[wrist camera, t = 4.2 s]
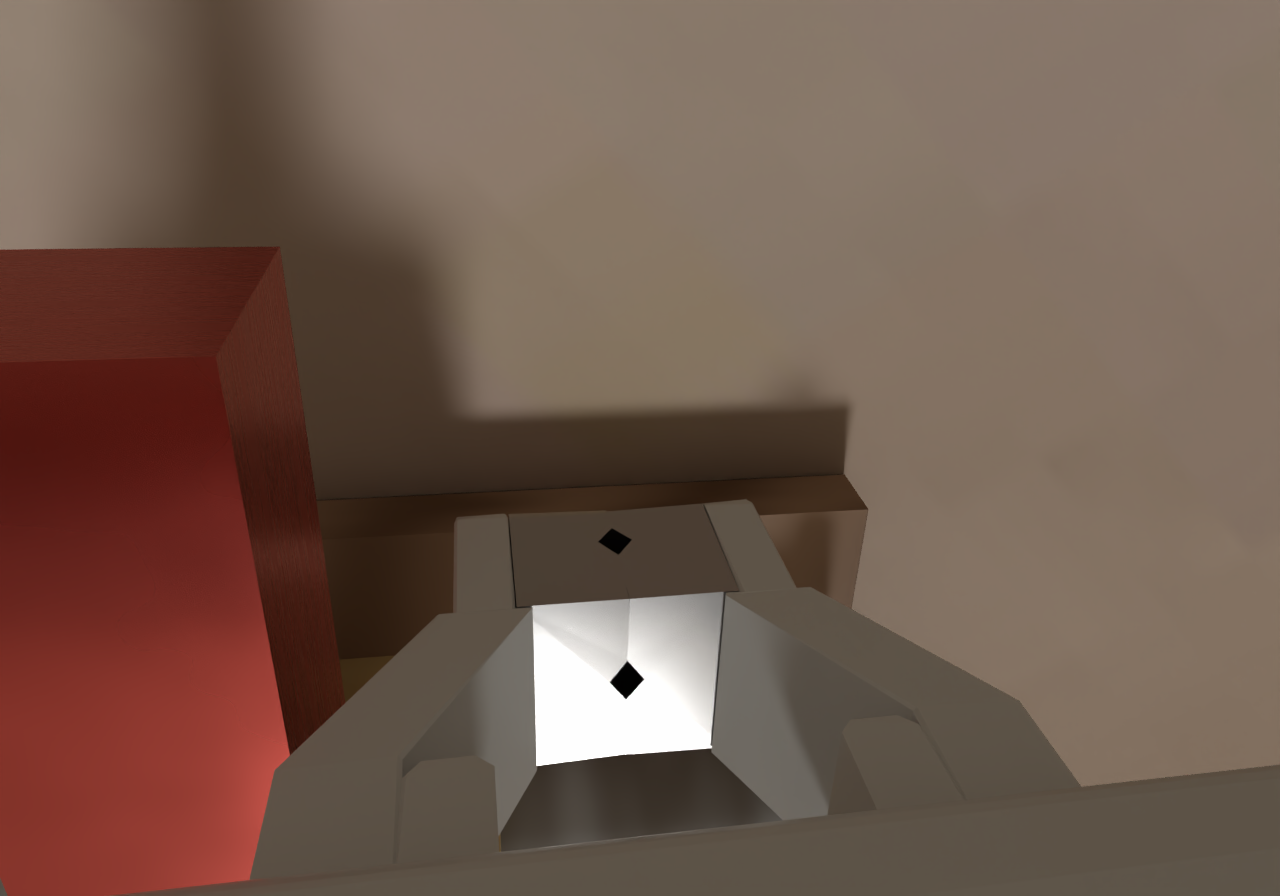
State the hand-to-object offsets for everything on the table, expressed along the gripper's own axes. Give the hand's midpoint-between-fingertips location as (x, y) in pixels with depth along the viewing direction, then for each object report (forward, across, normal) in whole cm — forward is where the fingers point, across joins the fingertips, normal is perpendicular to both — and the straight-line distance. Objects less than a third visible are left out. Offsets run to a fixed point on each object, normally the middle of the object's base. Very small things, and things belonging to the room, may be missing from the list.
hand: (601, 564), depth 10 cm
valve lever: (+1, +4, +5) cm, 6 cm away
